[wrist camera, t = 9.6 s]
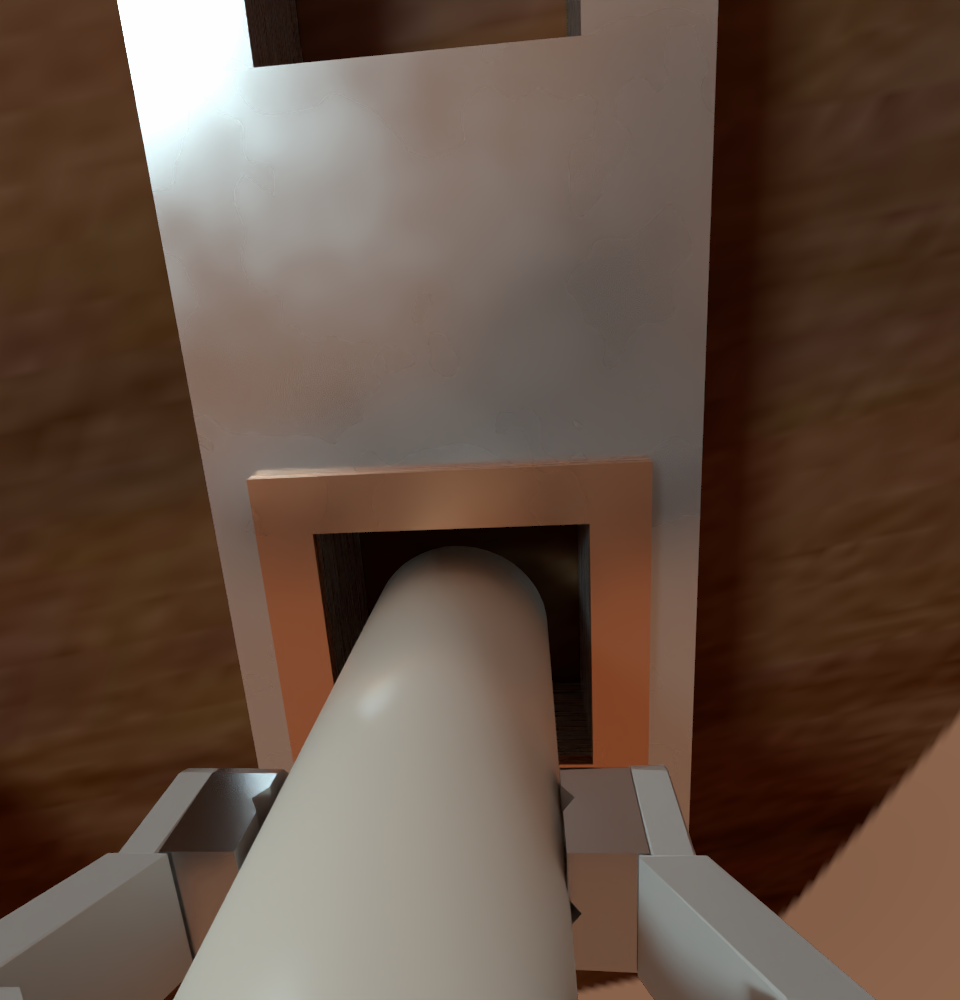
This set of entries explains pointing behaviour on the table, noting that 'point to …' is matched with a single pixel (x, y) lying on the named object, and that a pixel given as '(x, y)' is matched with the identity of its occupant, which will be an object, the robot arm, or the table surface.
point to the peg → (414, 814)
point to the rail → (444, 329)
